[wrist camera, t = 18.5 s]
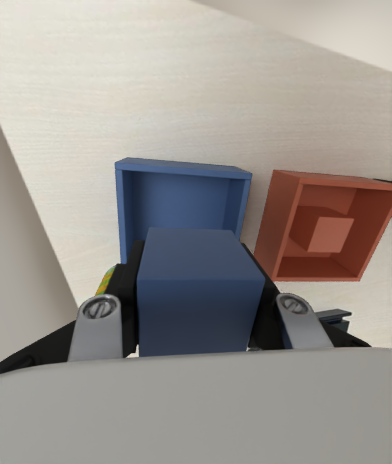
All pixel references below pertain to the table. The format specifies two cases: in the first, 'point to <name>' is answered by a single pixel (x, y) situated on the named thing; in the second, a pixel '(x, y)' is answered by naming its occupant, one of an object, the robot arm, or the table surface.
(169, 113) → the table surface
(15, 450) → the robot arm
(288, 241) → the terracotta bin
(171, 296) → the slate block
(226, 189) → the slate bin
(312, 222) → the terracotta block
